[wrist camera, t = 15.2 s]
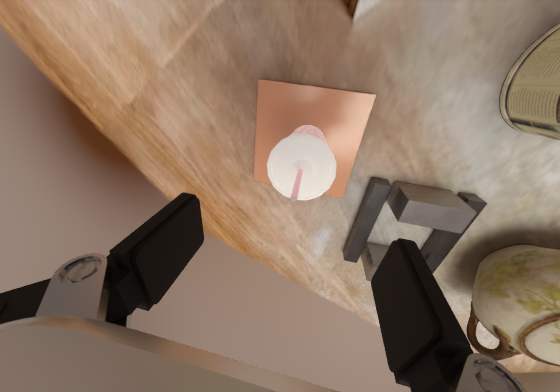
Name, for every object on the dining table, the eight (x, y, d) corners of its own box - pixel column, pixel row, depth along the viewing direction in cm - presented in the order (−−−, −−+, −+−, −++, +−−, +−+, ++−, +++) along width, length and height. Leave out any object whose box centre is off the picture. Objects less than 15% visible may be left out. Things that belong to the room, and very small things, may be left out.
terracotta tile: (374, 94, 22) (375, 94, 21) (342, 194, 29) (342, 197, 28) (260, 79, 23) (258, 79, 23) (254, 178, 30) (253, 181, 29)
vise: (476, 195, 25) (507, 218, 21) (423, 268, 32) (438, 296, 28) (371, 176, 27) (381, 195, 22) (342, 251, 34) (346, 275, 30)
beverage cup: (312, 175, 27) (306, 248, 15) (274, 150, 26) (235, 206, 14) (342, 136, 24) (363, 190, 12) (300, 107, 23) (277, 133, 11)
